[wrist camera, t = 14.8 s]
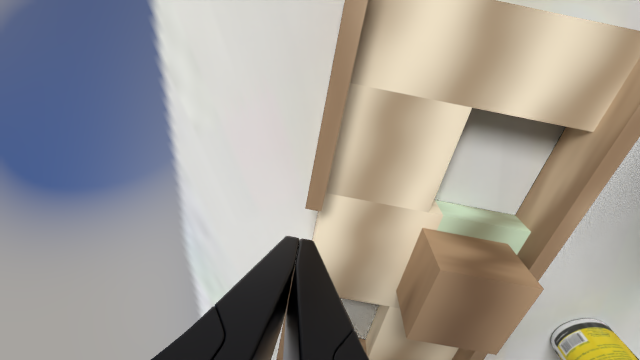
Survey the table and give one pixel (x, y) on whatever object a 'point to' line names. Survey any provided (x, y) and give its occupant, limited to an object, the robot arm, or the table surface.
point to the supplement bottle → (589, 342)
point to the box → (444, 132)
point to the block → (464, 291)
